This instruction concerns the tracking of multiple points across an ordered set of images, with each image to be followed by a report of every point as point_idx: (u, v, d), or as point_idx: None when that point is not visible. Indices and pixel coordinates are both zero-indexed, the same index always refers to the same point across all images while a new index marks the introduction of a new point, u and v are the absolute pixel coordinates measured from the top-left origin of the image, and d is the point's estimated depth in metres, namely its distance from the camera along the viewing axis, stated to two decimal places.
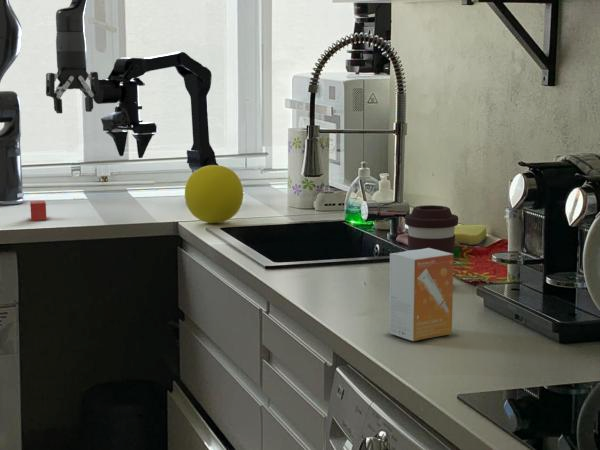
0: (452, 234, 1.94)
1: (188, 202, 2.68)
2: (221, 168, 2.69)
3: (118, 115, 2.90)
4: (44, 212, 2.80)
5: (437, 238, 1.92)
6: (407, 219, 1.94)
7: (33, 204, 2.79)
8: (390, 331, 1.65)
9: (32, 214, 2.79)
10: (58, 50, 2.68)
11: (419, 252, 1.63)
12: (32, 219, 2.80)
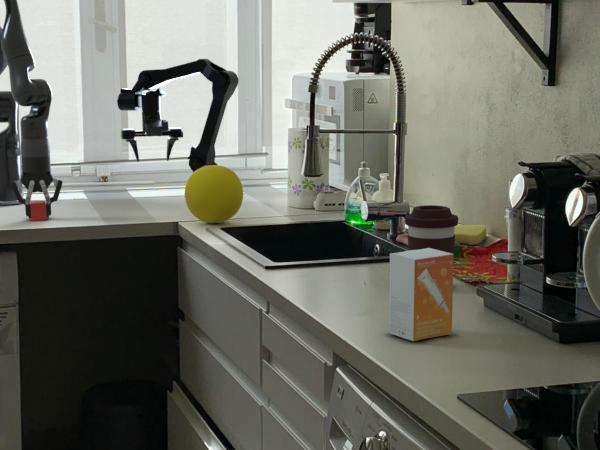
0: (452, 234, 1.94)
1: (188, 202, 2.68)
2: (221, 168, 2.69)
3: None
4: (44, 212, 2.80)
5: (437, 238, 1.92)
6: (407, 219, 1.94)
7: (33, 204, 2.79)
8: (390, 331, 1.65)
9: (32, 214, 2.79)
10: None
11: (419, 252, 1.63)
12: (32, 219, 2.80)
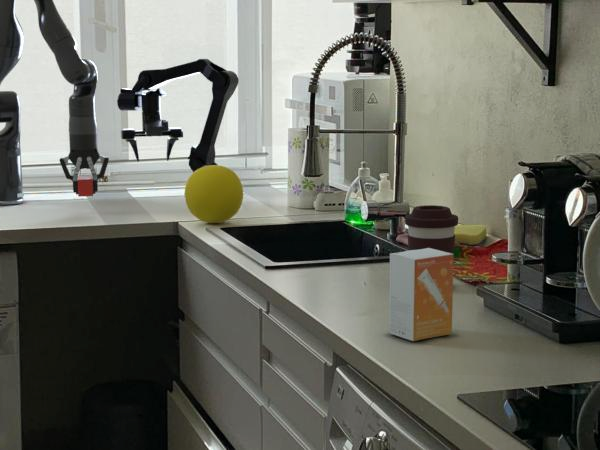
0: (452, 234, 1.94)
1: (188, 202, 2.68)
2: (221, 168, 2.69)
3: None
4: (91, 188, 2.89)
5: (437, 238, 1.92)
6: (407, 219, 1.94)
7: (80, 180, 2.88)
8: (390, 331, 1.65)
9: (79, 190, 2.88)
10: None
11: (419, 252, 1.63)
12: (79, 195, 2.88)
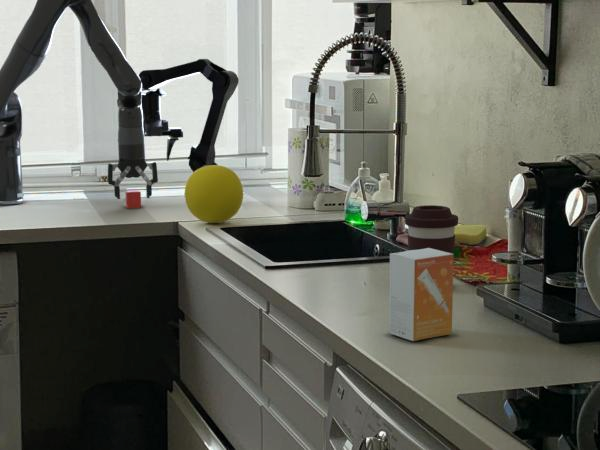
0: (452, 234, 1.94)
1: (188, 202, 2.68)
2: (221, 168, 2.69)
3: None
4: (139, 200, 3.00)
5: (437, 238, 1.92)
6: (407, 219, 1.94)
7: (129, 193, 2.99)
8: (390, 331, 1.65)
9: (128, 202, 3.00)
10: None
11: (419, 252, 1.63)
12: (128, 207, 3.00)
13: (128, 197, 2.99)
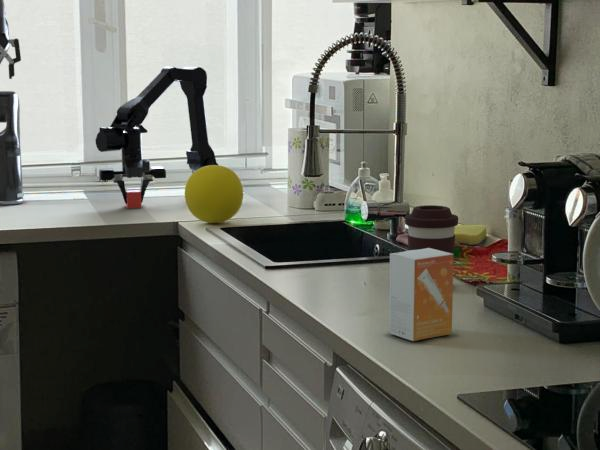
0: (452, 234, 1.94)
1: (188, 202, 2.68)
2: (221, 168, 2.69)
3: None
4: (139, 200, 3.00)
5: (437, 238, 1.92)
6: (407, 219, 1.94)
7: (129, 193, 2.99)
8: (390, 331, 1.65)
9: (128, 202, 3.00)
10: None
11: (419, 252, 1.63)
12: (128, 207, 3.00)
13: (128, 197, 2.99)
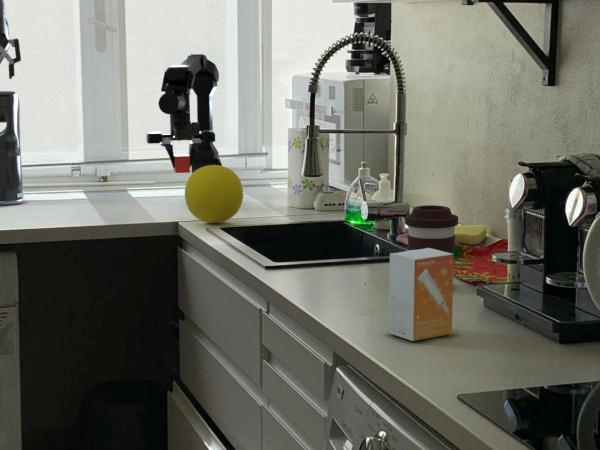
0: (452, 234, 1.94)
1: (188, 202, 2.68)
2: (221, 168, 2.69)
3: (198, 124, 2.86)
4: (188, 165, 2.92)
5: (437, 238, 1.92)
6: (407, 219, 1.94)
7: (178, 157, 2.91)
8: (390, 331, 1.65)
9: (176, 166, 2.91)
10: None
11: (419, 252, 1.63)
12: (176, 171, 2.91)
13: (177, 161, 2.91)
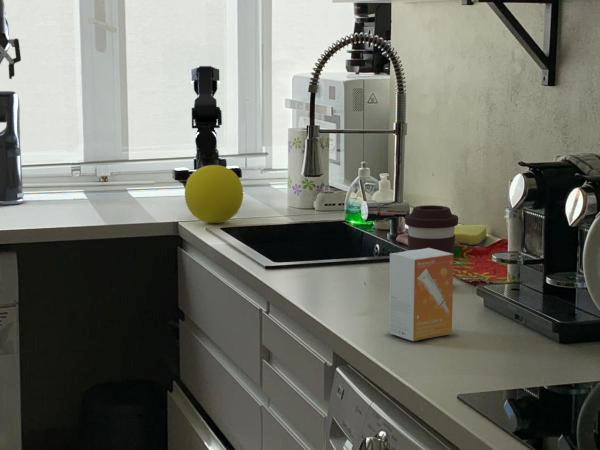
0: (452, 234, 1.94)
1: (188, 202, 2.68)
2: (221, 168, 2.69)
3: None
4: None
5: (437, 238, 1.92)
6: (407, 219, 1.94)
7: None
8: (390, 331, 1.65)
9: None
10: None
11: (419, 252, 1.63)
12: None
13: None
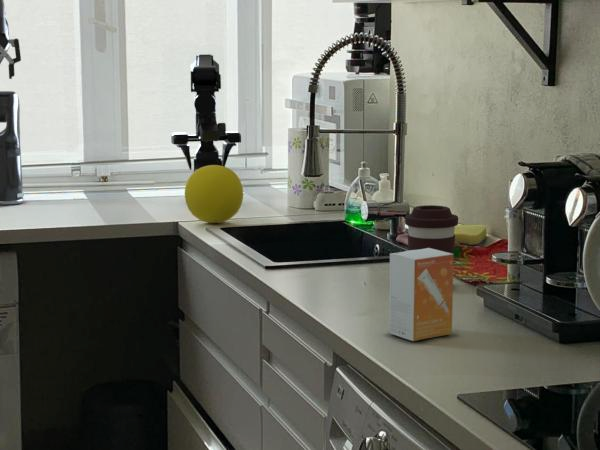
0: (452, 234, 1.94)
1: (188, 202, 2.68)
2: (221, 168, 2.69)
3: None
4: None
5: (437, 238, 1.92)
6: (407, 219, 1.94)
7: None
8: (390, 331, 1.65)
9: None
10: None
11: (419, 252, 1.63)
12: None
13: None
